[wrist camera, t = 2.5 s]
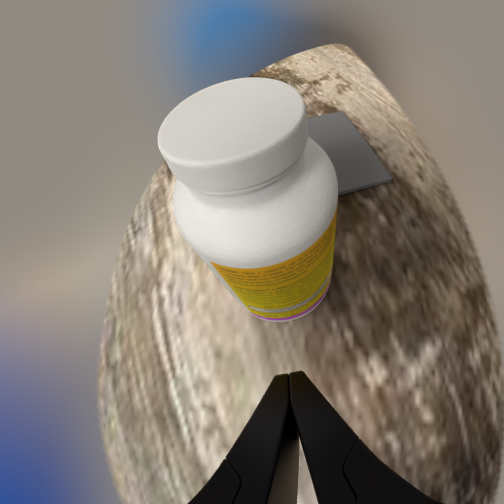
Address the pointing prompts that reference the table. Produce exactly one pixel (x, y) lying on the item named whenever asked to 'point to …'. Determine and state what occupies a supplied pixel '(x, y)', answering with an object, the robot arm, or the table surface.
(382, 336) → the table surface
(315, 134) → the mat
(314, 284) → the supplement bottle
